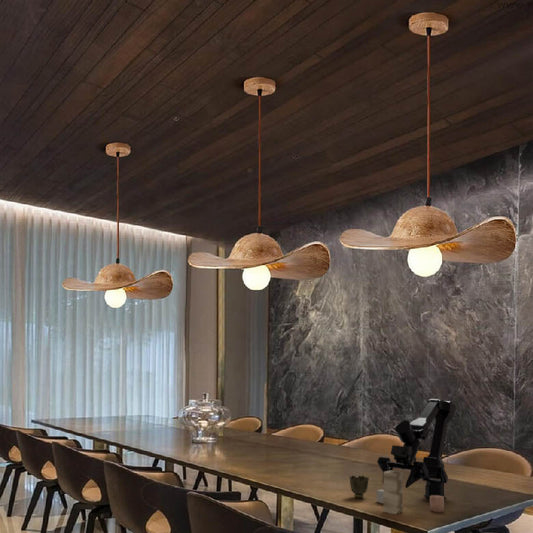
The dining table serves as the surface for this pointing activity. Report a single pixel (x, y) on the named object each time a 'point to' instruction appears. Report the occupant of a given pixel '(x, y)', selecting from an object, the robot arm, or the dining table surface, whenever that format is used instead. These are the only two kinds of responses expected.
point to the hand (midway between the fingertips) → (394, 485)
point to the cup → (359, 485)
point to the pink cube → (436, 503)
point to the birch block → (392, 492)
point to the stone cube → (380, 496)
